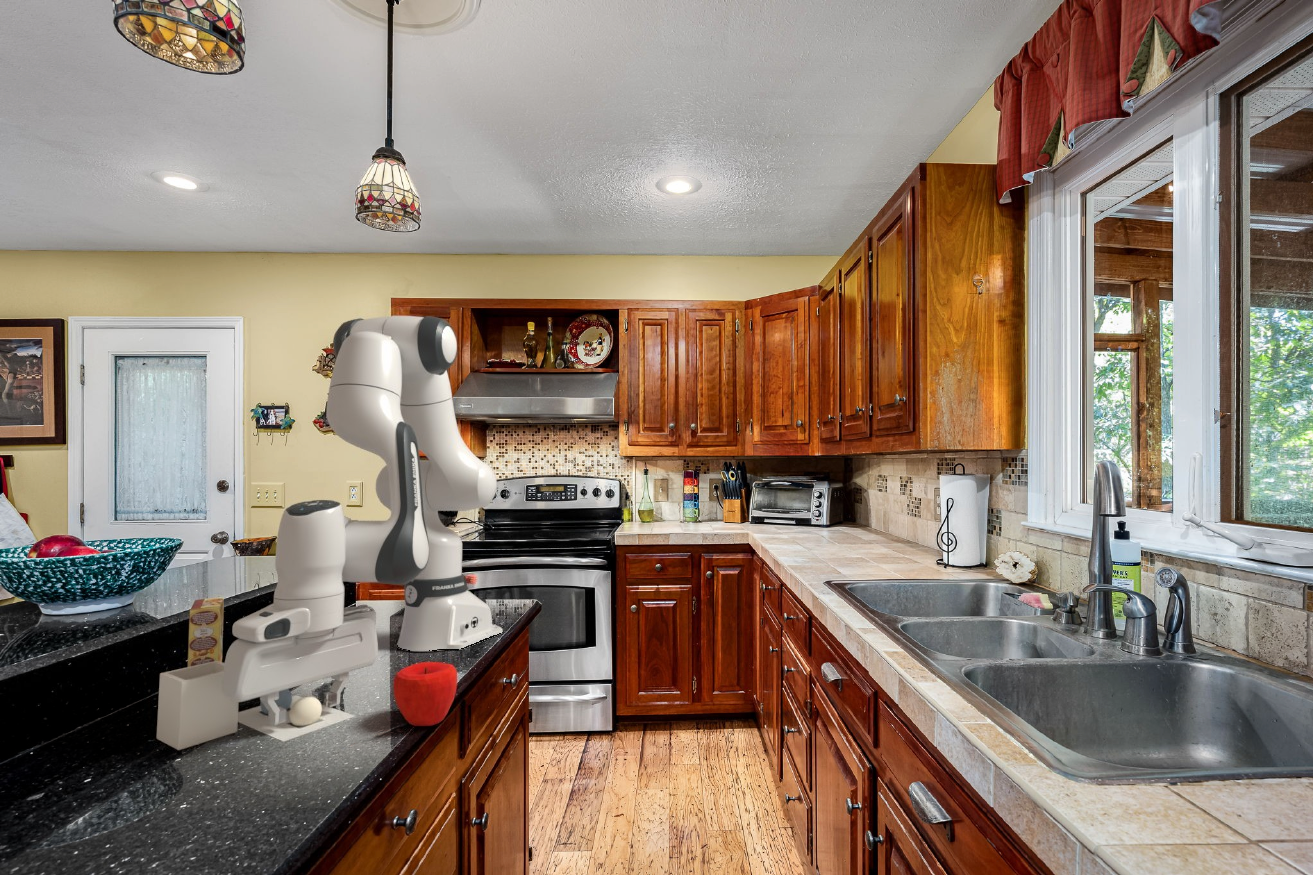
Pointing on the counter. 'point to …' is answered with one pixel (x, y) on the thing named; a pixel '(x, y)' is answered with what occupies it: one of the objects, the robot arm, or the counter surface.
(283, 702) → the blue ball
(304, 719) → the cream ball
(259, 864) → the counter surface
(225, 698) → the tube
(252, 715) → the board
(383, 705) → the counter surface
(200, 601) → the candy box
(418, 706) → the apple
